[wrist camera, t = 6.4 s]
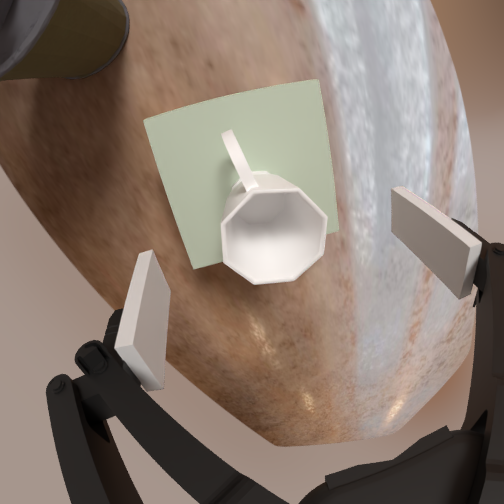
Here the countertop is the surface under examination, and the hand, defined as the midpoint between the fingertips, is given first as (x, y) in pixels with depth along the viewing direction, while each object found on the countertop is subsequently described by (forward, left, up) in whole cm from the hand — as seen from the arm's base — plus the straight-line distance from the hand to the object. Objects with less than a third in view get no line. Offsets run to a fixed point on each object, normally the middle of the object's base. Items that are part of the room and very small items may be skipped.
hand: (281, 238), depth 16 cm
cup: (0, 0, -11) cm, 11 cm away
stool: (0, 0, -19) cm, 19 cm away
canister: (-19, -13, -19) cm, 30 cm away
